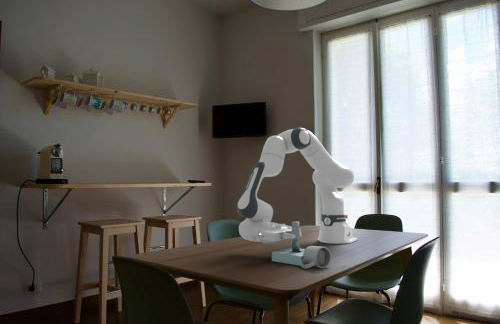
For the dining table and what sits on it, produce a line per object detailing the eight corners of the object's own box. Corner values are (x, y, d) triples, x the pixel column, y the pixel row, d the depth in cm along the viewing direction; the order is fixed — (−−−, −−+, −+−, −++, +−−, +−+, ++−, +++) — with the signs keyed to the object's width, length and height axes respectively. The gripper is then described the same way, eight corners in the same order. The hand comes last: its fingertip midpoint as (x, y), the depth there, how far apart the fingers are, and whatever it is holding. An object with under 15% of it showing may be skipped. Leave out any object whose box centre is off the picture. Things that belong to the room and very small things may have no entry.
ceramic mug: (316, 263, 149) (315, 243, 150) (331, 266, 143) (330, 245, 143) (295, 267, 143) (294, 246, 144) (310, 271, 137) (309, 249, 137)
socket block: (292, 255, 164) (292, 247, 164) (320, 259, 155) (320, 251, 155) (271, 260, 154) (271, 252, 154) (301, 265, 144) (301, 256, 145)
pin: (294, 251, 157) (294, 221, 157) (301, 251, 155) (300, 221, 155) (290, 252, 154) (290, 221, 155) (296, 252, 152) (296, 222, 153)
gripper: (254, 227, 156) (281, 230, 147) (284, 223, 171) (311, 225, 162) (254, 243, 155) (282, 247, 146) (284, 237, 171) (311, 240, 162)
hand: (297, 235), depth 154 cm, fingers closed on pin, 3 cm apart
